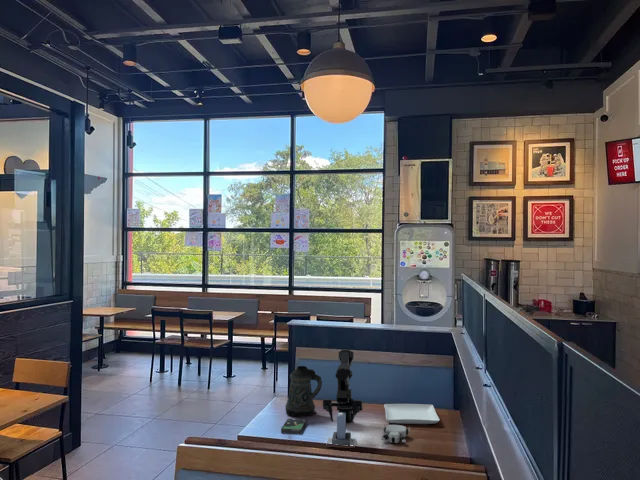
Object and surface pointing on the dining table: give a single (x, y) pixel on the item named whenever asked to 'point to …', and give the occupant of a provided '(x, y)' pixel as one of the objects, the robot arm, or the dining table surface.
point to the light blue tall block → (341, 425)
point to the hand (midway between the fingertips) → (341, 421)
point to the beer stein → (302, 392)
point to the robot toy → (395, 433)
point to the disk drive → (294, 426)
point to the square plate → (411, 414)
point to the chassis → (342, 440)
